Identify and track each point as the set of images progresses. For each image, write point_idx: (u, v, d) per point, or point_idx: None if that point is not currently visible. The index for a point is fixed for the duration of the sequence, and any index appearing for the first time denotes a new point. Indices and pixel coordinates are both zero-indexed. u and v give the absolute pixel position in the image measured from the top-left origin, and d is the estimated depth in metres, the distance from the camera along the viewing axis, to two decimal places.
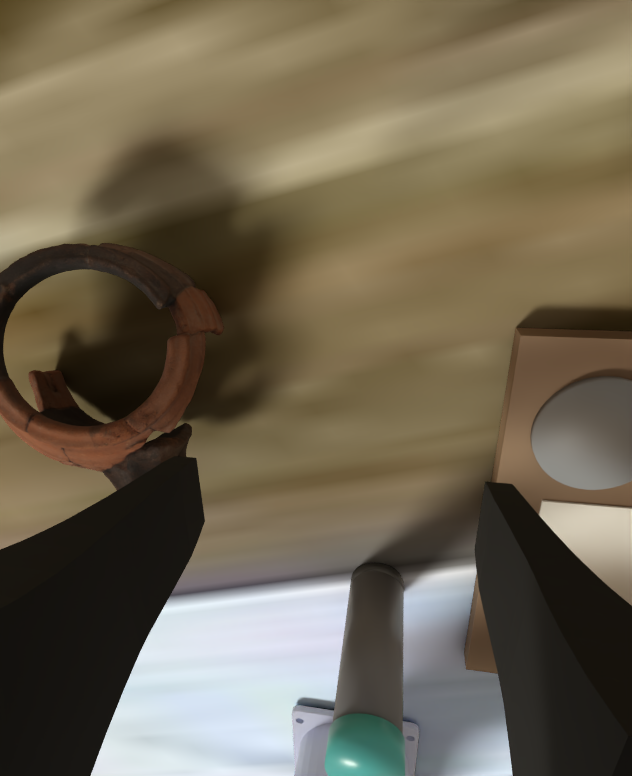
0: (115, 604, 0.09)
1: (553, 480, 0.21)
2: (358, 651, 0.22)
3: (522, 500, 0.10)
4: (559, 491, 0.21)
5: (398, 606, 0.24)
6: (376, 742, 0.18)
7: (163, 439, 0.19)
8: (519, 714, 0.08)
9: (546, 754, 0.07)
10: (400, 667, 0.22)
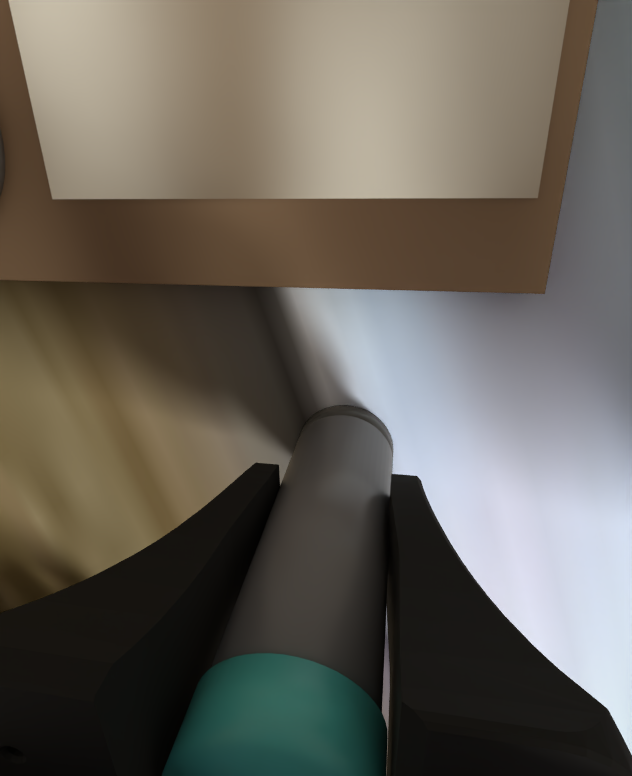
0: (222, 618, 0.09)
1: (11, 186, 0.12)
2: None
3: (417, 491, 0.11)
4: (29, 170, 0.12)
5: (306, 450, 0.13)
6: None
7: None
8: (391, 695, 0.09)
9: (392, 729, 0.07)
10: (284, 530, 0.10)
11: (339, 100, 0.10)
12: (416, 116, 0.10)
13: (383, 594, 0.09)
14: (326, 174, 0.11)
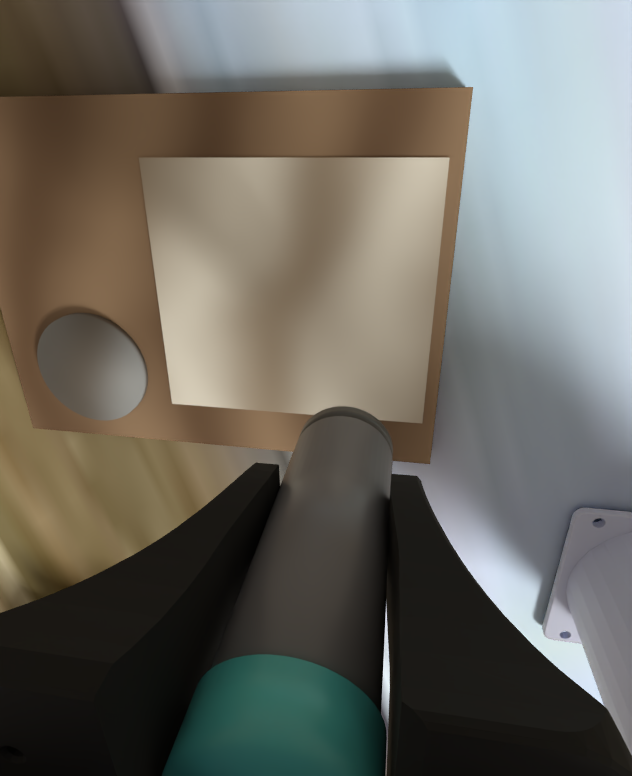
0: (222, 618, 0.09)
1: (149, 395, 0.22)
2: None
3: (417, 491, 0.11)
4: (160, 389, 0.22)
5: (306, 451, 0.13)
6: None
7: None
8: (391, 695, 0.09)
9: (392, 729, 0.07)
10: (284, 531, 0.10)
11: (324, 375, 0.20)
12: (362, 385, 0.20)
13: (382, 595, 0.09)
14: (318, 405, 0.21)
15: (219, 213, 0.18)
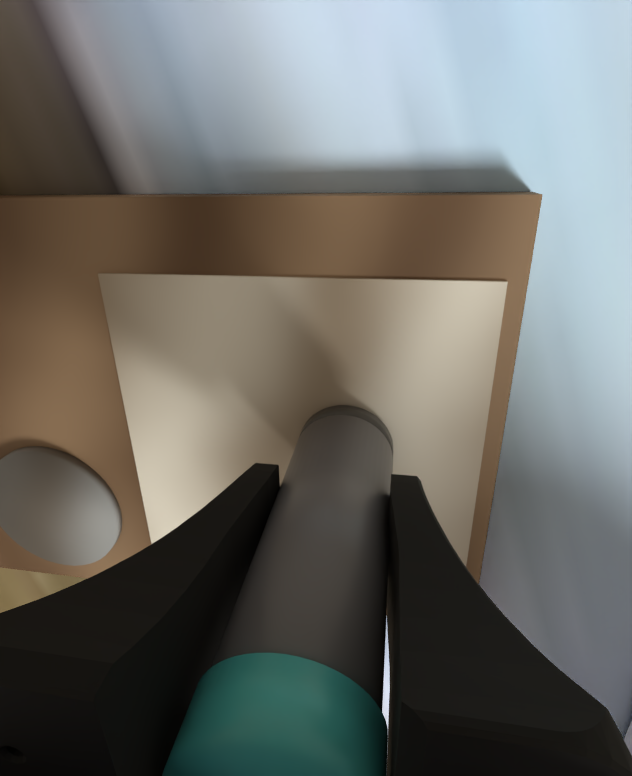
0: (222, 618, 0.09)
1: (125, 538, 0.18)
2: None
3: (417, 491, 0.11)
4: (137, 531, 0.18)
5: (307, 450, 0.13)
6: None
7: None
8: (391, 695, 0.09)
9: (392, 729, 0.07)
10: (285, 530, 0.10)
11: None
12: None
13: (383, 594, 0.09)
14: None
15: (204, 340, 0.14)
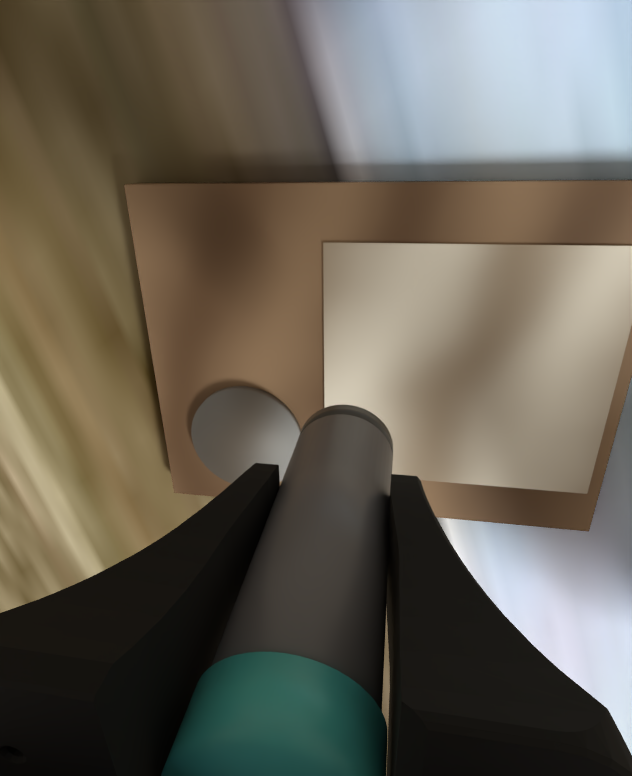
0: (222, 618, 0.09)
1: None
2: None
3: (417, 491, 0.11)
4: None
5: (306, 449, 0.13)
6: None
7: None
8: (391, 695, 0.09)
9: (392, 729, 0.07)
10: (284, 529, 0.10)
11: (489, 448, 0.20)
12: (528, 457, 0.20)
13: (383, 593, 0.09)
14: (479, 475, 0.21)
15: (400, 295, 0.19)
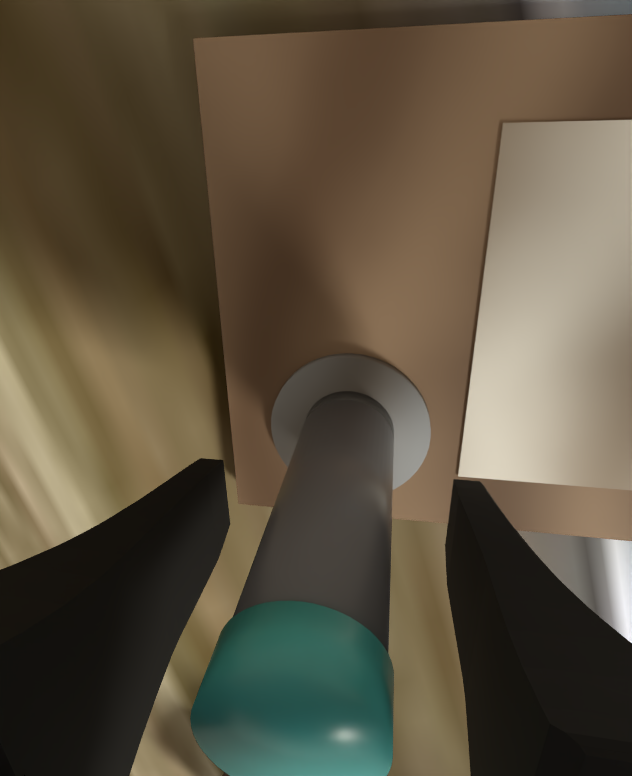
0: (150, 609, 0.09)
1: (424, 464, 0.16)
2: None
3: (486, 497, 0.10)
4: (443, 456, 0.16)
5: (313, 432, 0.13)
6: None
7: None
8: (475, 707, 0.08)
9: (494, 745, 0.07)
10: (295, 500, 0.10)
11: None
12: None
13: (388, 557, 0.10)
14: None
15: (614, 207, 0.12)
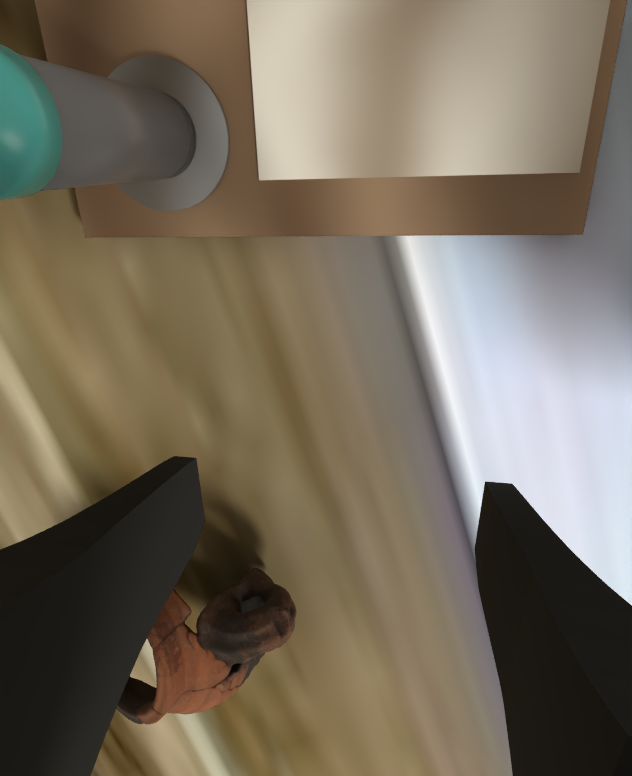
0: (115, 604, 0.09)
1: (230, 172, 0.18)
2: None
3: (522, 500, 0.10)
4: (244, 161, 0.18)
5: None
6: None
7: None
8: (519, 714, 0.08)
9: (546, 754, 0.07)
10: None
11: (457, 114, 0.16)
12: (505, 123, 0.16)
13: (106, 107, 0.12)
14: (445, 160, 0.17)
15: None
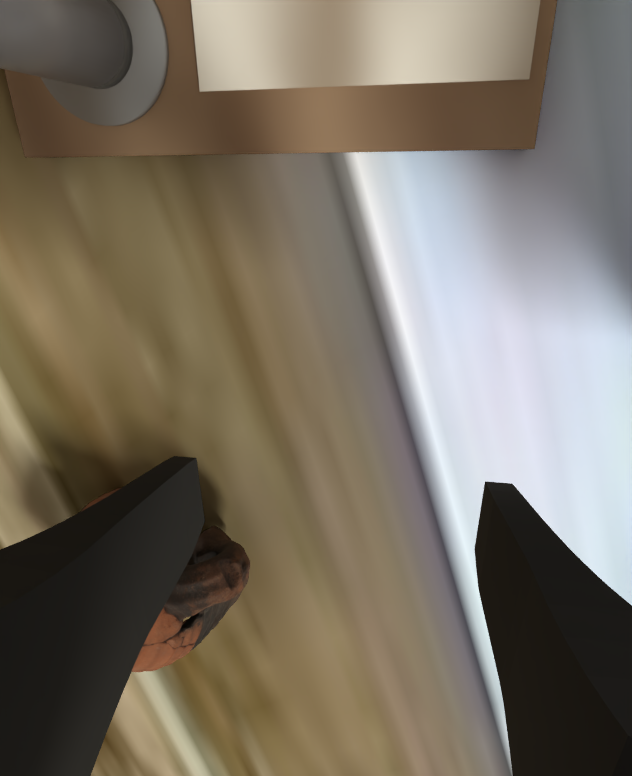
0: (115, 604, 0.09)
1: (170, 83, 0.18)
2: None
3: (522, 500, 0.10)
4: (184, 71, 0.17)
5: None
6: None
7: None
8: (519, 714, 0.08)
9: (546, 754, 0.07)
10: None
11: (401, 15, 0.16)
12: (451, 24, 0.16)
13: None
14: (390, 66, 0.16)
15: None
